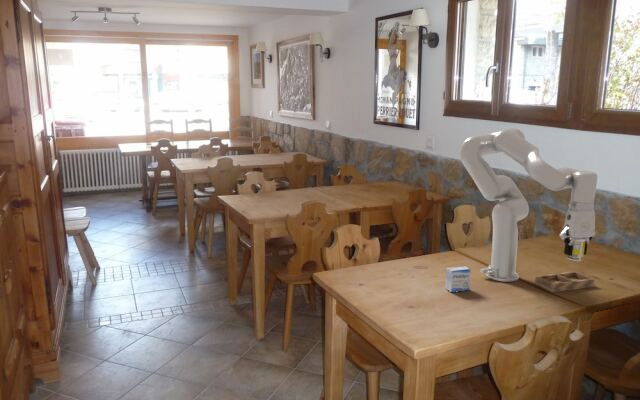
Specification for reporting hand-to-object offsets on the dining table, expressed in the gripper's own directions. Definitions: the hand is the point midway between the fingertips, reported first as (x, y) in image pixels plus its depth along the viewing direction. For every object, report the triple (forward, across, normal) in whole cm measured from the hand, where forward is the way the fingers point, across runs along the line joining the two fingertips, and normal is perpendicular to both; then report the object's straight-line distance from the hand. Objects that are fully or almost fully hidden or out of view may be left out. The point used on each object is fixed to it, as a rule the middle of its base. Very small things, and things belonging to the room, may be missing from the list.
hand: (575, 253), depth 186 cm
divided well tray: (+16, +4, +8) cm, 18 cm away
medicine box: (+17, -37, +16) cm, 44 cm away
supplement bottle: (+2, 0, 0) cm, 2 cm away
